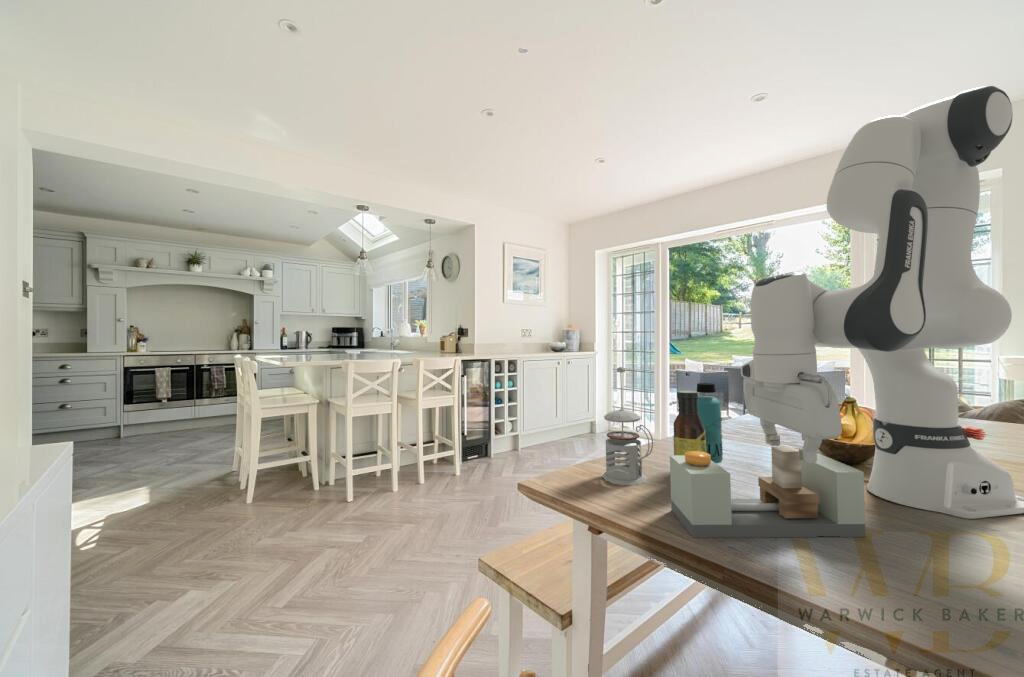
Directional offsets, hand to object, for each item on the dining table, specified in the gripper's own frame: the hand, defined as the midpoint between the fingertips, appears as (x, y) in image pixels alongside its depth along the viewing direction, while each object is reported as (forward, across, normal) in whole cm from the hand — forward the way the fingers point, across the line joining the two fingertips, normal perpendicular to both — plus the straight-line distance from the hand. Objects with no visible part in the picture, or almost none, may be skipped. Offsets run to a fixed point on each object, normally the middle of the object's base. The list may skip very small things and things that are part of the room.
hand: (789, 452), depth 68 cm
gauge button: (+6, 0, +15) cm, 16 cm away
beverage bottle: (+12, +30, +2) cm, 32 cm away
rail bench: (+11, 0, +6) cm, 13 cm away
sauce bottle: (+12, +17, +11) cm, 23 cm away
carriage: (+9, 0, +1) cm, 9 cm away
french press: (+11, +22, +23) cm, 33 cm away
